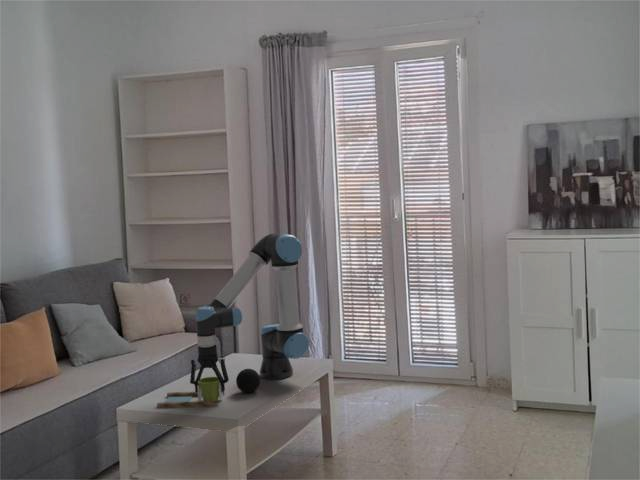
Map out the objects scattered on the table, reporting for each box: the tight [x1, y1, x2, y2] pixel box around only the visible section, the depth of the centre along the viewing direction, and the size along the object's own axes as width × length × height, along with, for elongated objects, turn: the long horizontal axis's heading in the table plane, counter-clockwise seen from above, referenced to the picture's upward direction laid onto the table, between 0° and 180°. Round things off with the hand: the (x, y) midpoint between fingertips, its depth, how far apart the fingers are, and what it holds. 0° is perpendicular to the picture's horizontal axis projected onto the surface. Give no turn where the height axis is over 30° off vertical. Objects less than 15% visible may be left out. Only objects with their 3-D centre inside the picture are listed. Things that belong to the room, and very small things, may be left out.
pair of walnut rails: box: [156, 391, 225, 409], centre depth 301 cm, size 24×16×2 cm, turn 85°
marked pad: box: [163, 396, 193, 403], centre depth 302 cm, size 10×10×1 cm
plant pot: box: [198, 376, 220, 402], centre depth 300 cm, size 9×9×9 cm
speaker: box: [235, 368, 261, 394], centre depth 309 cm, size 10×10×10 cm
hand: (210, 399), depth 300 cm, fingers closed on plant pot, 8 cm apart
